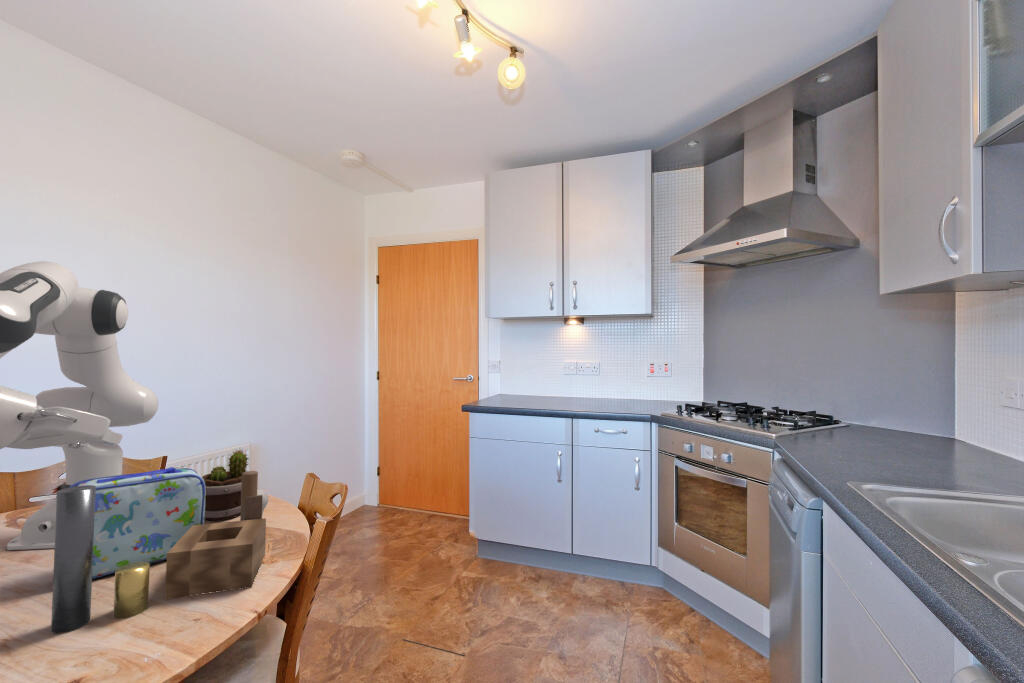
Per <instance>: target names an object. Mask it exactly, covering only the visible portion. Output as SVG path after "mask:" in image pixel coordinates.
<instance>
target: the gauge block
mask: <svg viewBox="0 0 1024 683" xmlns="http://www.w3.org/2000/svg"><path fill="white" fill-rule="evenodd" d="M266 528H267V518H262V519H254V520H244V521H240V520H236V521H226V522H225V521H224V522H214V523H204V524H203V525H193V526H192V527H191V528H190V529H189V530H188V531H187V532H186V533H185V534H184V535H183V536H182V537H181V539H180V540H179V541H178V542H177V543H176V544H175V545H174V546H173V547H172V548H171V549H170V550H169V552H168V553H167V559H166V560H165V561H166V563H165V564H166V566H165V593H164V594H165V595H164V600H170V599H171V600H172V599H178V598H179V599H180V598H186V597H185V596H187V597H191V596H190V595H194V596H197V595H196V594H201V595H203V594H202V593H208V594H210V593H209V592H215V593H217V592H216V591H222V592H224V591H223V590H229V591H232V590H231V589H236V590H240V589H239V588H243V589H248V588H247V587H250V588H252V587H253V585H252V584H254V583H253V582H255V580H256V578H257V576H256V575H258V573H259V571H260V569H261V566H262V564H263V562H264V560H263V558H264V559H265V557H266V538H267V537H266V532H267V529H266ZM264 556H265V557H264ZM262 561H263V562H262ZM261 563H262V564H261ZM259 568H260V569H259ZM258 570H259V571H258ZM255 577H256V578H255ZM254 579H255V580H254ZM245 587H246V588H245Z"/></svg>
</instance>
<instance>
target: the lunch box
mask: <svg viewBox="0 0 1024 683" xmlns="http://www.w3.org/2000/svg"><path fill="white" fill-rule="evenodd" d="M84 485H93V486H96V491H95V516H94V541H93V566H92V580H93V579H97V578H100V577H104V576H107V575H112V574H115V571H116V570H117V569H118V568H120V567H122V566H124V565H127V564H131V563H135V562H148V563H150V564H153V563H157V562H162V561H164V560H165V561H167V553H168V552H169V550H170V549H171V548H172V547H173V546H174V545H175V544H176V543H177V542H178V541H179V540H180V539H181V537H182V536H183V535H184V534H185V533H186V532H187V531H188V530H189V529H190V528H191V527H192V526H193V525H203V524H205V519H204V516H205V496H206V487H205V482H204V480H203V478H202V475H200V474H199V473H198V472H197V470H195V469H192V468H187V467H181V468H175V467H174V466H171V467H168V468H164V469H163V468H162V469H155V470H151V471H146V472H137V473H126V474H122V475H117V476H109V477H101V478H94V479H88V480H83V481H79V482H77V483H74V484H73V485H71V486H70V487H75V486H84ZM70 487H69V488H70Z"/></svg>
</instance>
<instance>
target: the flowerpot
mask: <svg viewBox="0 0 1024 683" xmlns="http://www.w3.org/2000/svg"><path fill="white" fill-rule="evenodd" d="M249 459H250V456H247V452H245V451H244V448H242V449H241V447H239V448H238V449H236V448H235V450H233V451H232V453H231V454H229V457H227V459H226V461H227V464H225V466H224V465H218V464H217V465H215V467H214V466H213V467H210V468H211V470H210V473H208V474H204V475H201V477H202V478H203V480H204V482H205V487H206V496H205V516H204V520H208V521H211V522H213V521H217V522H218V521H226V520H230V519H233V518H236V517H238V516H241V486H242V473H244V472H247V468H248V466H250V464H249V461H250V460H249ZM226 467H227V469H226Z"/></svg>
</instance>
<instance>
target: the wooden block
mask: <svg viewBox="0 0 1024 683" xmlns="http://www.w3.org/2000/svg"><path fill="white" fill-rule="evenodd" d="M258 474H259V472H258V470H246V471H245V472H244V473H242V486H241V514H240V520H239V521H244V520H254V519H263V514H262V498H263V496H262V495H258V496H257V489H258V480H259V479H258Z"/></svg>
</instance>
